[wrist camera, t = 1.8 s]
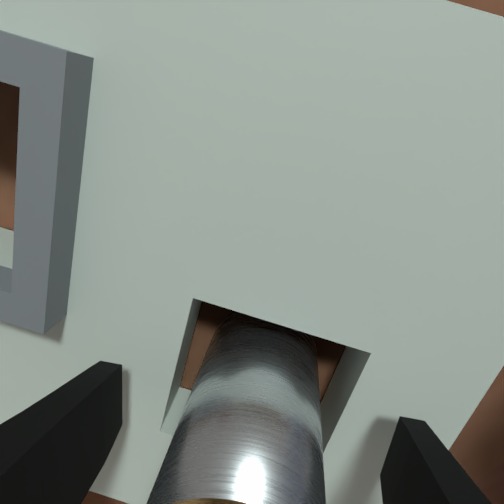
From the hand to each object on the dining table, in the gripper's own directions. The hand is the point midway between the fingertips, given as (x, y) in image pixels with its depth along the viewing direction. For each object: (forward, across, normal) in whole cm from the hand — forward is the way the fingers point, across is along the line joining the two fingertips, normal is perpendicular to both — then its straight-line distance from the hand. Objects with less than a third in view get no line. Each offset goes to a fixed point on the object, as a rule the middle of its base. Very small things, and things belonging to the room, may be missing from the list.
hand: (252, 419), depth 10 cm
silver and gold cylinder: (+3, 0, 0) cm, 3 cm away
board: (+3, +3, -2) cm, 5 cm away
